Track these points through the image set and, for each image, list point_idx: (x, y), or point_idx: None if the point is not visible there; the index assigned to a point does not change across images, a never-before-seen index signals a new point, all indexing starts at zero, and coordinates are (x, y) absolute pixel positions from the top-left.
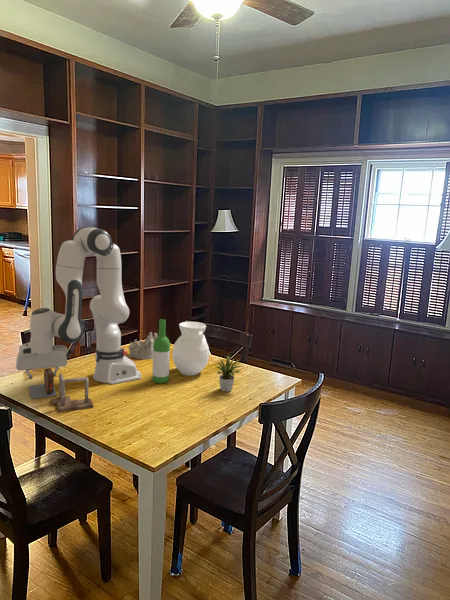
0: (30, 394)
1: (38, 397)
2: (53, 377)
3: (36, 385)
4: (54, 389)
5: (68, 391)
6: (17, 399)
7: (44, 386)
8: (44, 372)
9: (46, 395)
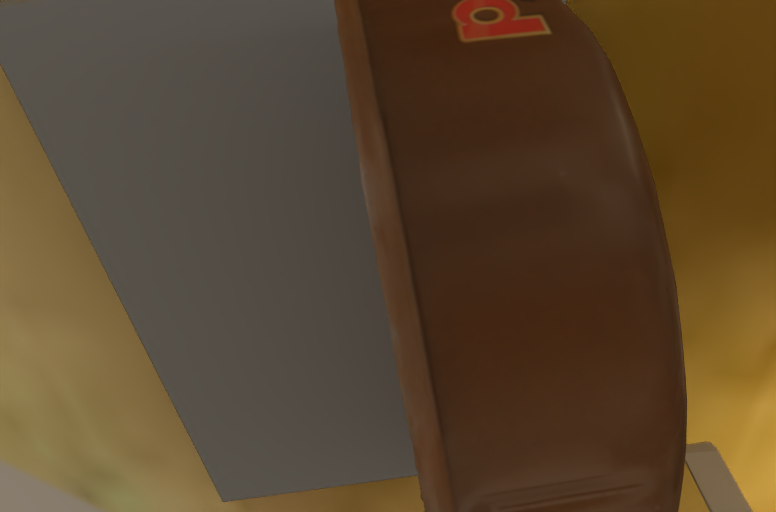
0: (180, 418)
1: (319, 481)
2: None
3: (163, 22)
4: None
5: (766, 316)
6: (41, 475)
7: None
8: (351, 53)
9: None
